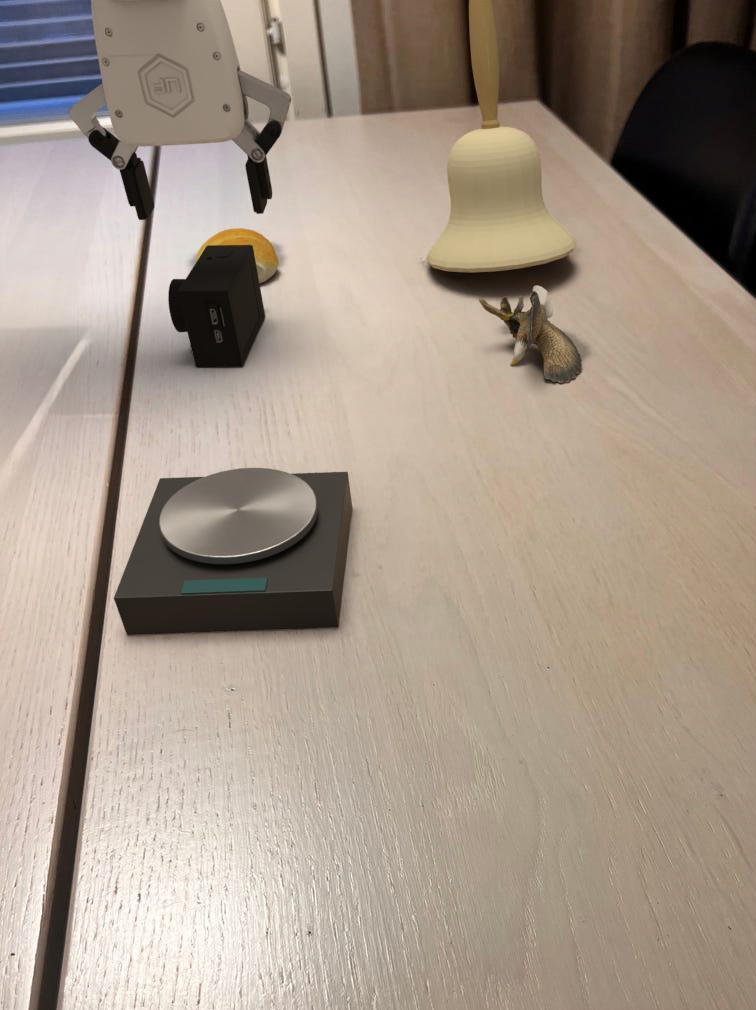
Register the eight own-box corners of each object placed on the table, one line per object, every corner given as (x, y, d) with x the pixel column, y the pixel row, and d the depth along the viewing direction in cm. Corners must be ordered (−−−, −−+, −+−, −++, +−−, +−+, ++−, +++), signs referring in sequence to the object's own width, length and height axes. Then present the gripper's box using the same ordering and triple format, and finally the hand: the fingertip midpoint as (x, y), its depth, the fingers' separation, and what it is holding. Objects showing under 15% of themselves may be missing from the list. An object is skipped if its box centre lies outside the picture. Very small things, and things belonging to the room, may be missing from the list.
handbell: (461, 296, 93) (428, -20, 80) (407, 271, 105) (371, -8, 92) (604, 267, 98) (595, -37, 84) (536, 246, 110) (519, -23, 96)
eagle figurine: (460, 343, 86) (513, 365, 79) (491, 263, 84) (548, 278, 78) (526, 372, 91) (582, 394, 84) (557, 296, 89) (616, 313, 82)
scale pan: (147, 572, 60) (142, 559, 59) (179, 482, 67) (176, 469, 67) (310, 567, 60) (308, 553, 59) (325, 477, 68) (323, 464, 67)
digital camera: (209, 317, 94) (193, 243, 90) (265, 317, 94) (252, 243, 89) (181, 368, 87) (162, 290, 82) (242, 367, 86) (227, 289, 82)
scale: (126, 635, 60) (112, 596, 58) (169, 513, 70) (159, 476, 68) (338, 628, 60) (332, 588, 58) (352, 507, 70) (347, 469, 68)
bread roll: (272, 252, 106) (266, 214, 104) (284, 283, 100) (277, 243, 97) (195, 261, 105) (186, 223, 102) (201, 294, 98) (193, 254, 96)
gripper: (14, -17, 68) (90, 233, 80) (262, -30, 68) (302, 222, 80) (45, -35, 74) (112, 201, 86) (275, -47, 74) (311, 190, 85)
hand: (204, 211), depth 83 cm, fingers open, 9 cm apart
